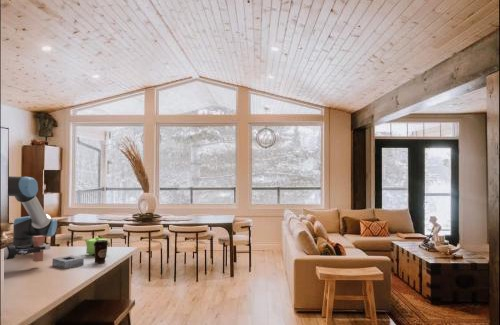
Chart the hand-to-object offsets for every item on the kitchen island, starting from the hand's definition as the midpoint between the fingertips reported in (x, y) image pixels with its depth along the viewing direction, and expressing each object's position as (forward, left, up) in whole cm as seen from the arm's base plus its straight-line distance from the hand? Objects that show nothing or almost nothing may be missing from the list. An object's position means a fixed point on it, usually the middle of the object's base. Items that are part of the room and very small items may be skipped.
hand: (47, 246), depth 231 cm
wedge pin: (0, -5, -8) cm, 9 cm away
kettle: (-5, +37, -11) cm, 39 cm away
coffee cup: (+16, +25, -11) cm, 31 cm away
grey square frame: (+9, +8, -11) cm, 16 cm away
